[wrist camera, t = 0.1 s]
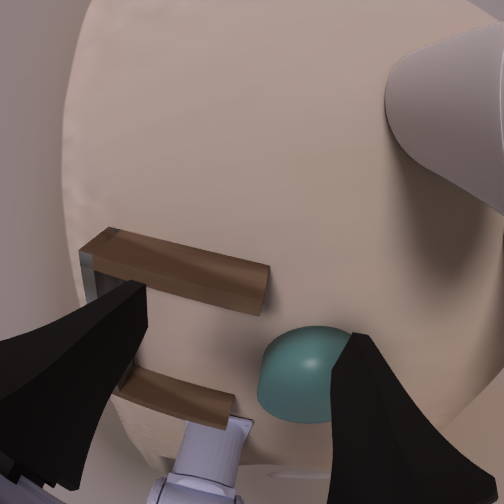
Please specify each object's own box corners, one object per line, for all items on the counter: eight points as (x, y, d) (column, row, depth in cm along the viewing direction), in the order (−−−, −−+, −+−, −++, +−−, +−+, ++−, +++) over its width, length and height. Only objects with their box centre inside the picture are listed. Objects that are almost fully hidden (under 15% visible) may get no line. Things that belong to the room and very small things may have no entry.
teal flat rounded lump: (339, 395, 26) (341, 427, 22) (254, 380, 26) (247, 414, 23) (380, 334, 22) (389, 370, 18) (276, 314, 22) (272, 351, 18)
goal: (232, 400, 28) (225, 430, 24) (125, 367, 28) (111, 393, 25) (269, 265, 20) (263, 300, 16) (108, 226, 20) (78, 250, 17)
